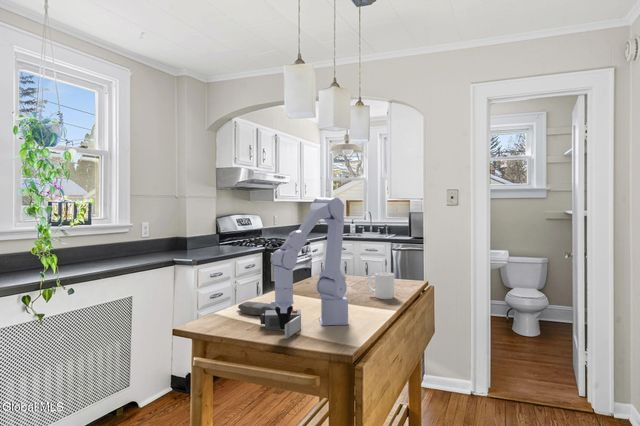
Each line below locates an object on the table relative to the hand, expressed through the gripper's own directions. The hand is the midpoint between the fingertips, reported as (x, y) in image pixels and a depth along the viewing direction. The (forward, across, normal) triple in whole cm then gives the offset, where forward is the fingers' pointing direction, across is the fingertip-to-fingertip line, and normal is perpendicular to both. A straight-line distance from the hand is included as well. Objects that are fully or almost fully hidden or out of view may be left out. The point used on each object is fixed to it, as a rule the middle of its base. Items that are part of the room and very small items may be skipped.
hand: (284, 329), depth 139 cm
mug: (+3, -49, +41) cm, 64 cm away
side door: (+2, -1, +3) cm, 4 cm away
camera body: (+2, -9, 0) cm, 10 cm away
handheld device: (+3, -26, -10) cm, 28 cm away
